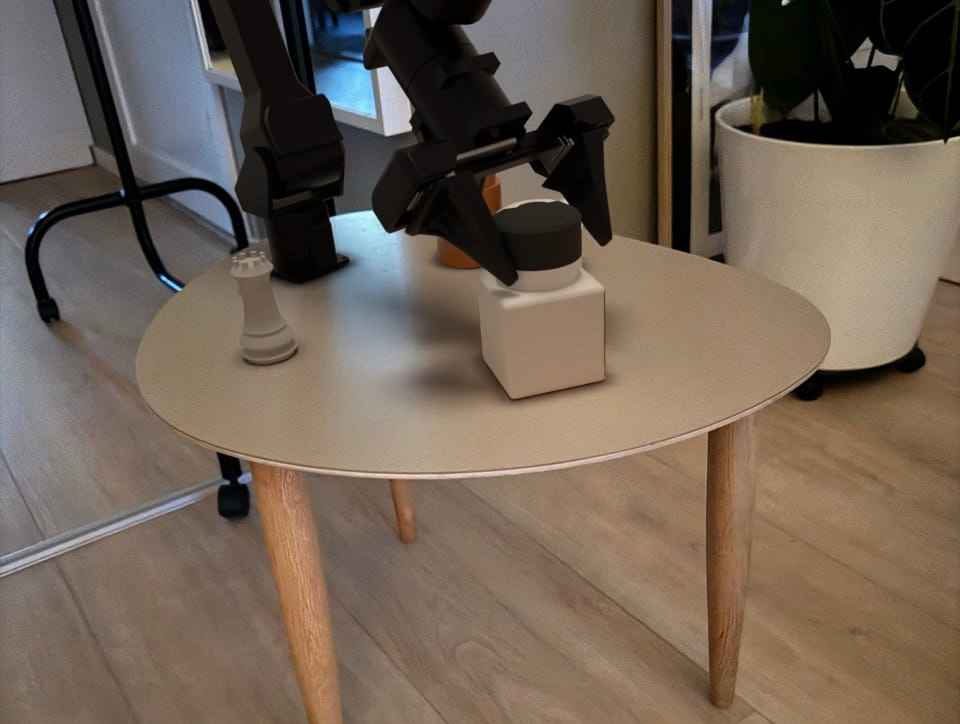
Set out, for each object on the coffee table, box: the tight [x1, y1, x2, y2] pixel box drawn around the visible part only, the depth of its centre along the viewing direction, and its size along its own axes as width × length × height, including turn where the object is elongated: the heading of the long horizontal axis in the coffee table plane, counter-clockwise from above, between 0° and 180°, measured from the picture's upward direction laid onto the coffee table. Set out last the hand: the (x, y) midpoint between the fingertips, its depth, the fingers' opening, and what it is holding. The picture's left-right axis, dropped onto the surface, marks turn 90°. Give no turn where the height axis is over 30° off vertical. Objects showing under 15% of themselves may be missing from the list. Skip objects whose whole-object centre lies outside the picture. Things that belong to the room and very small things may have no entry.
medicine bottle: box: [475, 198, 606, 400], centre depth 64 cm, size 7×7×12 cm
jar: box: [436, 173, 503, 269], centre depth 86 cm, size 6×6×8 cm
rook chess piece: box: [229, 250, 298, 365], centre depth 71 cm, size 4×4×8 cm
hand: (562, 262), depth 62 cm, fingers open, 9 cm apart
